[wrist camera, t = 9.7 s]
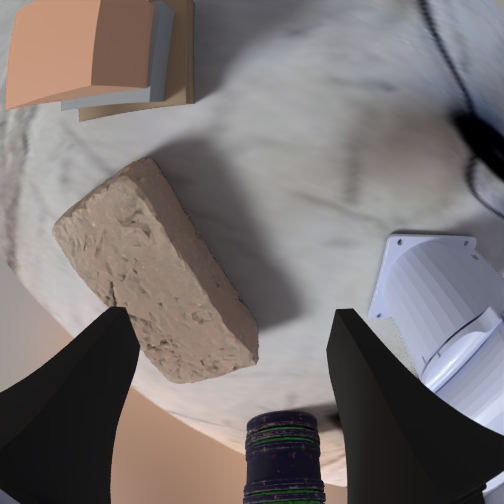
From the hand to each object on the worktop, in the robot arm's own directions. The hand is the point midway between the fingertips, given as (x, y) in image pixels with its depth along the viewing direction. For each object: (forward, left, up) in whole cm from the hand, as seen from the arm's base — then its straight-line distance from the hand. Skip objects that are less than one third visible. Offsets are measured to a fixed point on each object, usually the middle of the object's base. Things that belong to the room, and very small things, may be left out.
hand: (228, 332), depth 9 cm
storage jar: (-4, +30, -11) cm, 32 cm away
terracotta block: (+6, -11, -6) cm, 14 cm away
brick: (+6, +5, -11) cm, 13 cm away
